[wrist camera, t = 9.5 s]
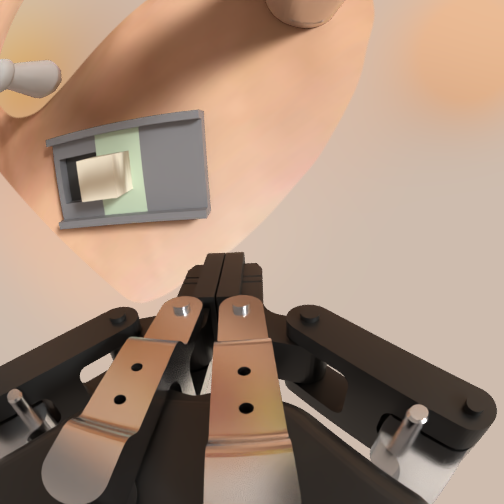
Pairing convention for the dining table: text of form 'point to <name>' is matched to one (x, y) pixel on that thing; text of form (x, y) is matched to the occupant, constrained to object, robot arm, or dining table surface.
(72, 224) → the trap lane
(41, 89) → the salt shaker
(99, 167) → the maple block
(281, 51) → the dining table surface
